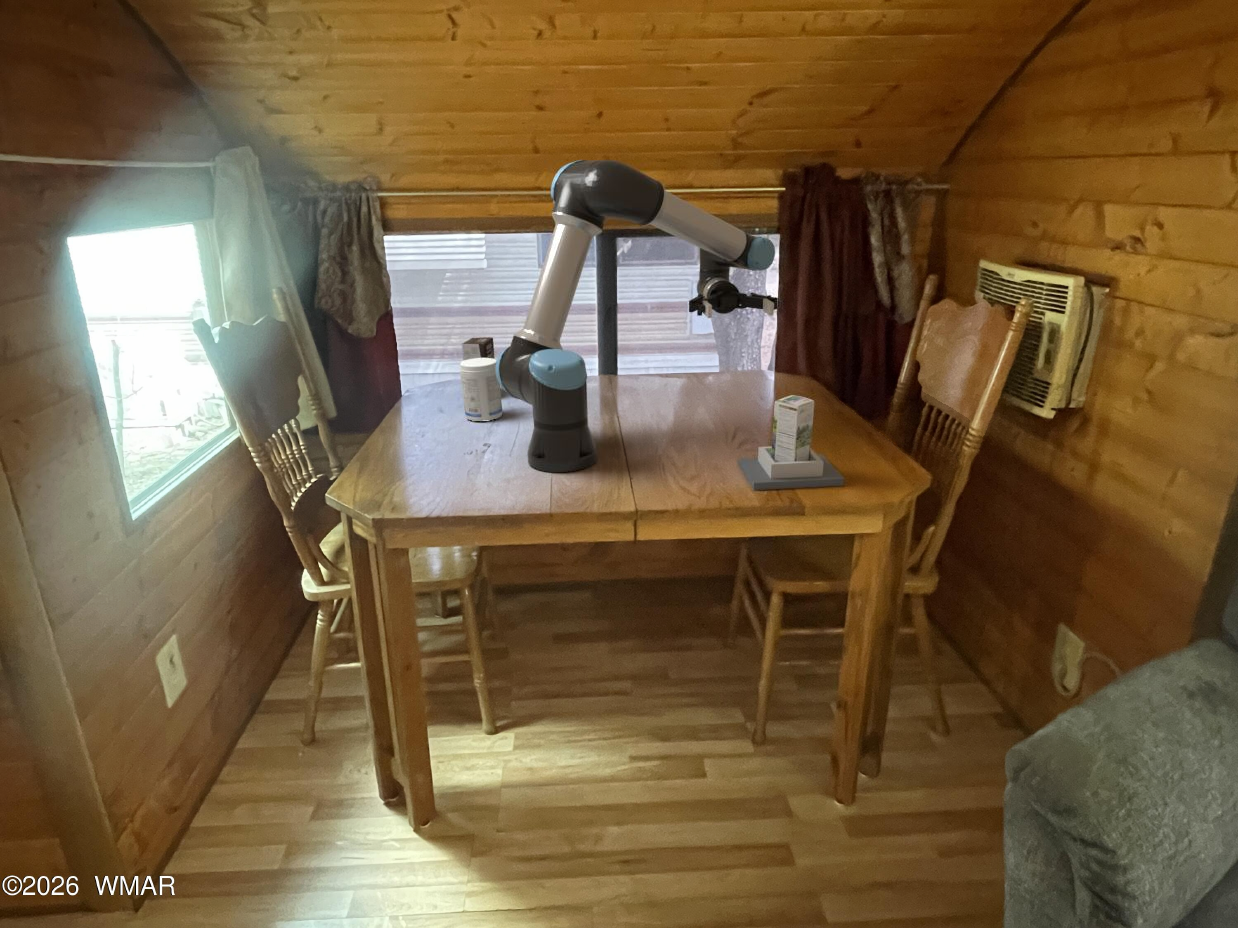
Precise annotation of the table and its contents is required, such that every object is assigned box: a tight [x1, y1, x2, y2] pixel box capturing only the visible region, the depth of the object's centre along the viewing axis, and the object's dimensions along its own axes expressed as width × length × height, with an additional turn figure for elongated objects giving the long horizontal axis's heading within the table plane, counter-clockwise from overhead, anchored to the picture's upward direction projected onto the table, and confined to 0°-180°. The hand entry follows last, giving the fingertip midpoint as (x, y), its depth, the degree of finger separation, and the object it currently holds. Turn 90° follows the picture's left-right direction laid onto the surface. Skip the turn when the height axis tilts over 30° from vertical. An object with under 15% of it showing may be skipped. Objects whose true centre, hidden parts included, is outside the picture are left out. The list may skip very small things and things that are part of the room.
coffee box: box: [461, 336, 496, 361], centre depth 220 cm, size 9×6×16 cm
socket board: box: [737, 445, 845, 491], centre depth 161 cm, size 18×14×4 cm
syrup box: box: [771, 394, 815, 462], centre depth 159 cm, size 6×6×14 cm
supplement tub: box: [459, 358, 503, 422], centre depth 201 cm, size 10×10×15 cm
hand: (741, 310), depth 171 cm, fingers open, 13 cm apart
